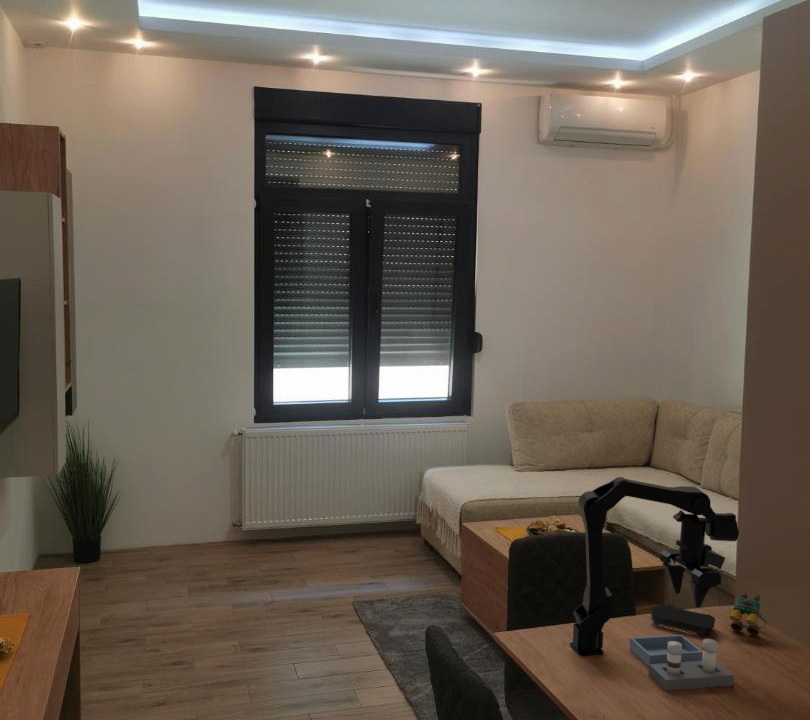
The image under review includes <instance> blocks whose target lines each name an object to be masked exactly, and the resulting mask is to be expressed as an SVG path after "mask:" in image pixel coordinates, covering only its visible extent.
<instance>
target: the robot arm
mask: <svg viewBox="0 0 810 720" xmlns="http://www.w3.org/2000/svg"><path fill="white" fill-rule="evenodd" d="M626 497H631V498H636V499H640V500H644V501H645V500H646V501H650V502H655V503H660V504H667V505H670V506H673V507H676V508H677V509H679V511H678V512H677V513H674V515H673V516H672V519H674V520H675V521H676V522H677V523H681V524H680V536H679V537H680V538H679V540H676V541H675V542H676V543H675V544H676V545H677V546H678V547H679V548H678V549H663V550H662V551H661V552H660V554H659V555H660V557H659V561H661V562H662V565H663V567H664V569H665V572H666V573H667V576H668V577H669V580H670V584H671V585H672V589H673V592H674V594H676V595H679V594H681V589H682V585H683V579H684V578H683V577H684V573H685V571H689V572H691V574H690V577H691V580H690V588H691V592H692V597H693V602H694V606H695V608H696V609H699V608H701V606H702V604H703V602H704V601H705V598H706V596H707V594H708V592H709V591H710V590H711V588H713V587H718V585H719V586H720V585H722V584H723V583H722V582H723V575H722V574H721V573H720V572H719V571H717V570H716V569H714V568H712V567H715V568H717V569H719V570H722V567H723V565H724V562H725V560H726V556H723V555H721V554H720V553H717V552H716V551H714V550H712V549H713V548H712V546H711V545H709V544H707V543H705V541H706V540H705V539H706V538H705V537H706V536H707V537H709V540H711V541H719V542H720V541H721V542H737V540H738V539H739V534H740V533H739V532H740V529H739V526H738V522H737V515H736V514H735V513H733V512H726V513H718V512H717V513H716V512H714V510H713V508H712V506H711V498H710V497H709V496H708V494H707V493H705V492H704V491H702V490H701V489H699V488H698V487H696V486H685V485H684V486H683V485H682V486H673V487H672V486H664V485H659V484H654V483H649V482H645V481H644V482H643V481H640V480H639V481H638V480H634V479H628V478H625V477H622V476H617V477H615V478H613V479H612V480H611V481H610V482H607V483H605V484H602V485H600V486H598V487H596V488H594V489H593V490H588V491H586V492H584V493H582V494H581V495H580V496H579V498H578V508H579V512H580V516H581V519H582V523H583V526H584V527H583V528H584V532H585V533H584V535H585V538H584V539H585V556H586V557H585V558H586V560H585V561H586V562H585V563H586V586H585V588H584V592H583V597H582V603H580V604H579V606H577V607H576V608H575V609H574V610H573V615H574V619H575V621H576V623H575V622H574V623H573V632H572V642H569V646H570V647H571V648H572V649H573V650H574V651H575V652H576V653H577V655H579V656H587V655H588V656H589V655H603V654H604V653H605V651H604V650H603V646H604V632H603V628H604V626H605V624H606V623H607V622H609V620H610V619H611V618H612V617H611V616H612V613H615V611H614V608H613V600H614V599H613V598H614V597H613V596H614V595H612V593H611V591H610V590H609V588H608V587H605V571H604V570H605V569H604V547H603V544H604V543H603V530H604V527H605V524H606V521H607V514H608V511H610V510H612V509H613V508H614V507H616V505H617V504H619V502H621V501H622V499H624V498H626ZM685 512H687V513H685ZM700 516H702V517H700ZM709 566H712V567H709ZM702 567H703V568H702Z"/></svg>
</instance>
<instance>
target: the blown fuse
mask: <svg viewBox="0 0 810 720" xmlns="http://www.w3.org/2000/svg"><path fill="white" fill-rule="evenodd" d="M667 652H668V655H667V671H666V673H668V674H669V675H680V667H681V654H682V644H681V643H679V642H676V641H669V642H668V647H667Z"/></svg>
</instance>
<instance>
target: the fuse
mask: <svg viewBox="0 0 810 720" xmlns="http://www.w3.org/2000/svg"><path fill="white" fill-rule="evenodd" d="M718 643H719V642H718V641H717V640H716V639H712V638H704V639H703V640H702V651H703V656H702V669H701V670H703V671H704V672H705V673H712V672H716V671H715V668H716V661H717V653H718Z"/></svg>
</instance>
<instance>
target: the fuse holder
mask: <svg viewBox="0 0 810 720" xmlns="http://www.w3.org/2000/svg"><path fill="white" fill-rule="evenodd" d="M701 669H702V661H691V662H681V667H680V675H669V674H668V673H666V671H667V663H662V664H649V667H648V676H649V677H650V678H652V680H653V681H654V682H656V683H657V684H658V685H659V686H660V687H661V688H662V689H663V690H665V692H667V691H669V692H670V691H679V690H691V689H692V690H694V689H695V690H696V689H707V687H709V688H718V687H717V686H722V687H731V685H732V687H733V686H734V681H735V675H734V674H733V673H732V672H731V671H729V670H728V669H727V668H726V667H724V666H723V665H722V664H720V663H719V662H718V661H717V660H716V668H715V671H716V672H712V673H705V672H704V671H703V670H701Z"/></svg>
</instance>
